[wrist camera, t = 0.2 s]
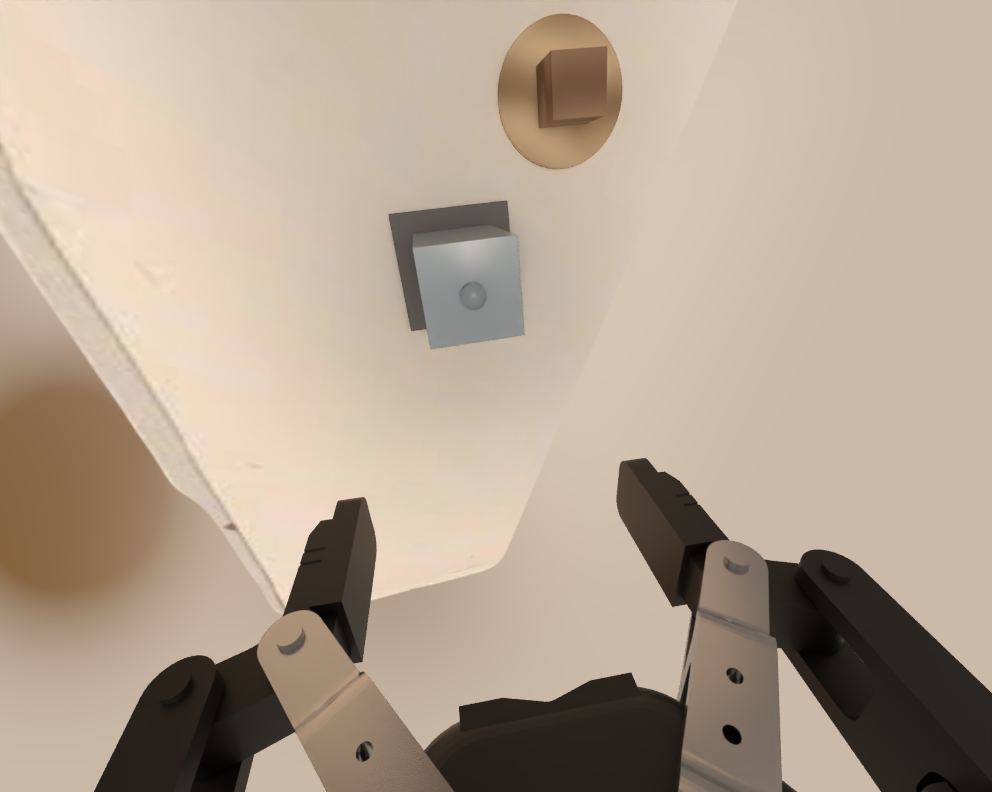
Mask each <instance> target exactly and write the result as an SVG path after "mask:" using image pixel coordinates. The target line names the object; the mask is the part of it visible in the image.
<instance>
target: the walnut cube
mask: <svg viewBox="0 0 992 792" xmlns="http://www.w3.org/2000/svg"><path fill="white" fill-rule="evenodd" d="M536 79H537V100H538V122H539V128H547V127H557V126H567V125H578V124H587V123H589V122H592V121H594V120H596V119H599V118H601V117H603V116H606V111H607V46H602V47H588V48H575V49H562V50H551V51H550V52H549V53H548V54H547V55H546V56H545V57H544V58H543V59H542V61H541V62H540V63H539V64H538V65H537V66H536Z"/></svg>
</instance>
